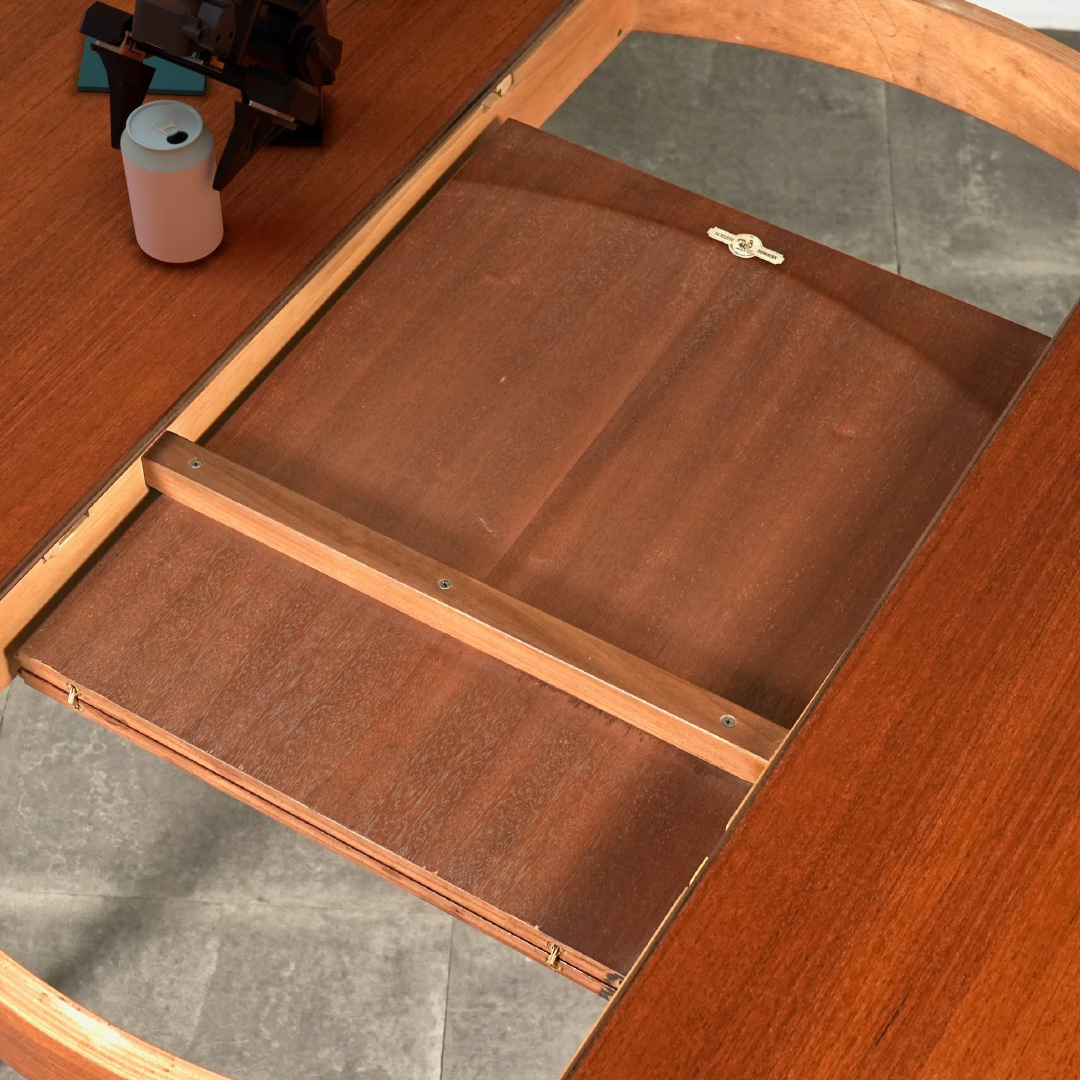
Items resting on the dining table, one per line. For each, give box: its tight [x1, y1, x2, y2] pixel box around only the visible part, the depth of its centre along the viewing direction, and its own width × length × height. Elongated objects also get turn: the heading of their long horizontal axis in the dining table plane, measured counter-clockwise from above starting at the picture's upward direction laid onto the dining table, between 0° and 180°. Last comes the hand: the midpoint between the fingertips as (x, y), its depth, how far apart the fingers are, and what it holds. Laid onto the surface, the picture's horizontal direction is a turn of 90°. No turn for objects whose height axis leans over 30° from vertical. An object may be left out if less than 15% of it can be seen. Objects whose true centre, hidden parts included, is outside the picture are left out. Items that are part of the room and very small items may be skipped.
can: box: [120, 99, 224, 264], centre depth 126 cm, size 7×7×12 cm
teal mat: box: [76, 35, 207, 97], centre depth 143 cm, size 11×8×1 cm
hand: (165, 169), depth 124 cm, fingers open, 9 cm apart
